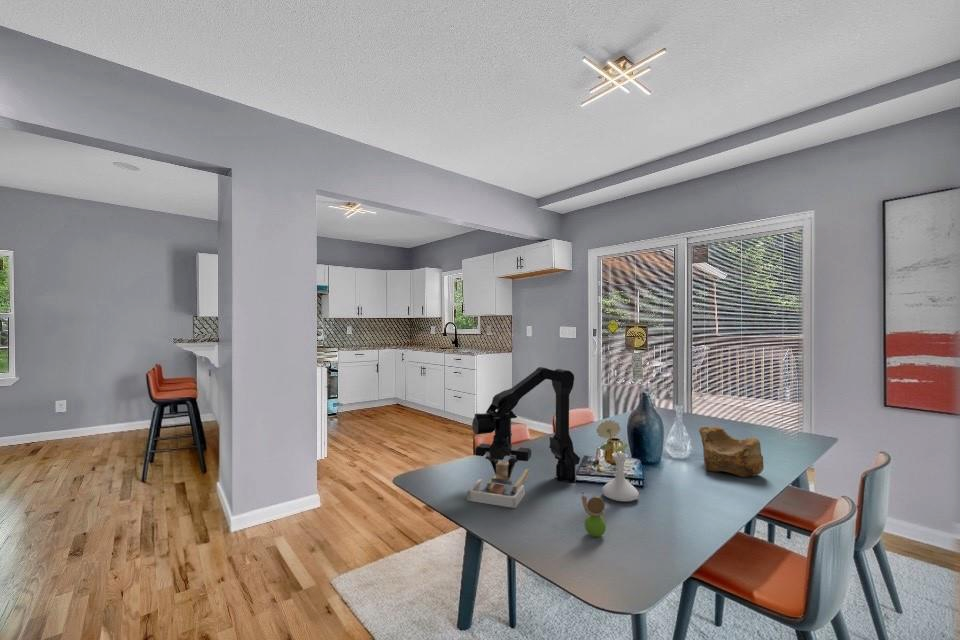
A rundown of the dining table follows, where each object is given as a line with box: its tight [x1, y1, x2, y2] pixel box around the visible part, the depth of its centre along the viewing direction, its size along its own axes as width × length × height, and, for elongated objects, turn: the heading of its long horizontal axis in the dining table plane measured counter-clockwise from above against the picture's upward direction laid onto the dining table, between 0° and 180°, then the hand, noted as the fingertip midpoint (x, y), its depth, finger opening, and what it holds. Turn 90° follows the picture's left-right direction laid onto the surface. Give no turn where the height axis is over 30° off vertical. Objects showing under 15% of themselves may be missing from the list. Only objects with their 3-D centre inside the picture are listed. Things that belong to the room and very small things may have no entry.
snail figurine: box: [580, 490, 607, 538], centre depth 111 cm, size 5×6×12 cm
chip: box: [489, 487, 502, 495], centre depth 135 cm, size 3×3×3 cm
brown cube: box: [492, 483, 505, 495], centre depth 138 cm, size 3×3×3 cm
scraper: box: [490, 460, 512, 486], centre depth 143 cm, size 7×5×6 cm, turn 69°
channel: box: [486, 468, 530, 494], centre depth 149 cm, size 10×18×2 cm, turn 159°
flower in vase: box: [595, 419, 640, 503], centre depth 135 cm, size 13×11×25 cm
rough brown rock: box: [698, 426, 765, 478], centre depth 159 cm, size 23×16×15 cm
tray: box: [466, 478, 526, 509], centre depth 136 cm, size 16×11×3 cm
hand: (503, 477), depth 143 cm, fingers closed on scraper, 4 cm apart
